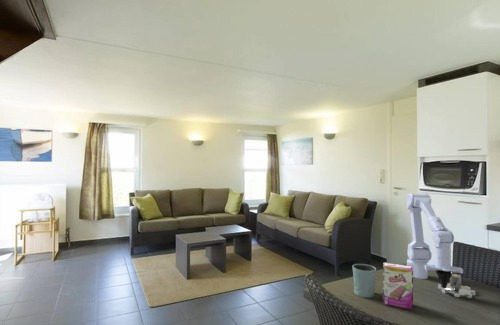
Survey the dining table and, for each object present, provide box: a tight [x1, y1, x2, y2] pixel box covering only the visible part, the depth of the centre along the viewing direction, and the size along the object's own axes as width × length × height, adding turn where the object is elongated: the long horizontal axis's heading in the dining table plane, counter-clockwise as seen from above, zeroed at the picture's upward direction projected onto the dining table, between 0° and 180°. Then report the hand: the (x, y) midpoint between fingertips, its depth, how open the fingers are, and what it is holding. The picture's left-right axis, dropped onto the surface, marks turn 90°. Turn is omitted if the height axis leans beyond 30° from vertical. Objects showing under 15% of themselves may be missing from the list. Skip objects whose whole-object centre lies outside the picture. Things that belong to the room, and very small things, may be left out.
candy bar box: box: [382, 262, 414, 311], centre depth 119 cm, size 11×5×16 cm, turn 65°
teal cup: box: [352, 263, 377, 299], centre depth 130 cm, size 10×10×12 cm
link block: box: [449, 273, 462, 288], centre depth 133 cm, size 4×4×5 cm
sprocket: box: [437, 281, 476, 299], centre depth 130 cm, size 14×14×6 cm
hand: (443, 287), depth 128 cm, fingers closed
